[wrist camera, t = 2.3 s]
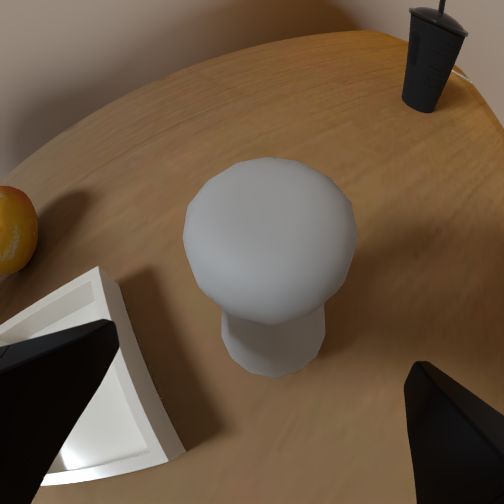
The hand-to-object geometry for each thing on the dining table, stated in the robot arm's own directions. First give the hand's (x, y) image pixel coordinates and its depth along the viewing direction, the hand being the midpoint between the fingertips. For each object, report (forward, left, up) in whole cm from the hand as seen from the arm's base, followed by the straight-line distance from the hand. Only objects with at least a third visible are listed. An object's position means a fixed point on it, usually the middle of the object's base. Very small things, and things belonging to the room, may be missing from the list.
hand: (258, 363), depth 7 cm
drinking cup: (+17, -34, -10) cm, 39 cm away
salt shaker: (+2, -2, -10) cm, 11 cm away
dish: (+4, +13, -10) cm, 17 cm away
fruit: (+20, +17, -10) cm, 29 cm away
